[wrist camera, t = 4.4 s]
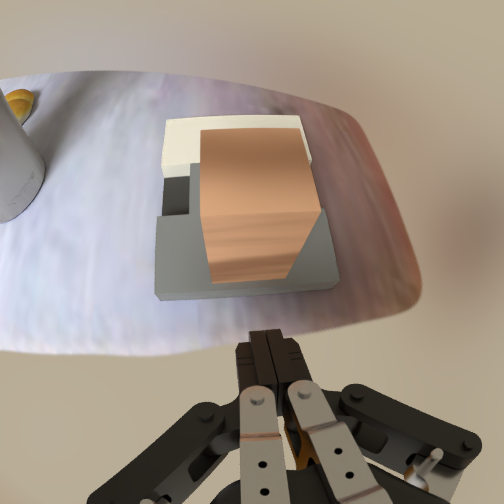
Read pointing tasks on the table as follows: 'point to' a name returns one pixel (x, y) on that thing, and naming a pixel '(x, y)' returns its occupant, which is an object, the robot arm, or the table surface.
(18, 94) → the bread roll
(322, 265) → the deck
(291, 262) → the block
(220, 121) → the pad
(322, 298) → the table surface
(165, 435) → the robot arm
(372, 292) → the table surface
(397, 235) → the table surface
